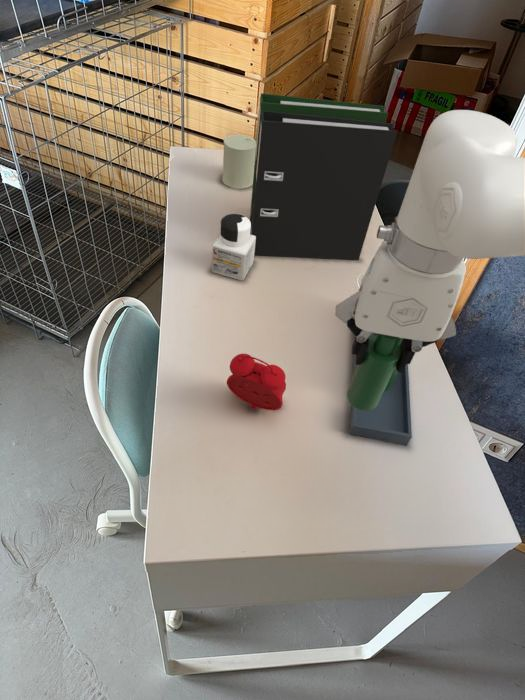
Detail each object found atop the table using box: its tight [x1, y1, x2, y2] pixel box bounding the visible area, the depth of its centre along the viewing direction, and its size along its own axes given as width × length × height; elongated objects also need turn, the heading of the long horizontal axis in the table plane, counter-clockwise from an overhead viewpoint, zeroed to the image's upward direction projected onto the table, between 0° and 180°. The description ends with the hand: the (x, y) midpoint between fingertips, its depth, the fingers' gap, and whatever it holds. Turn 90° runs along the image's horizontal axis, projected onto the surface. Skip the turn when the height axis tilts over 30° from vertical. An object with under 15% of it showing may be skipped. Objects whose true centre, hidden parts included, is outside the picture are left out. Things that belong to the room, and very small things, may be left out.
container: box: [211, 213, 256, 281], centre depth 108 cm, size 8×8×13 cm
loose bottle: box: [346, 334, 401, 411], centre depth 64 cm, size 5×5×14 cm
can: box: [221, 134, 257, 190], centre depth 136 cm, size 9×9×12 cm
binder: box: [249, 93, 398, 261], centre depth 111 cm, size 27×15×32 cm, turn 91°
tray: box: [349, 333, 413, 446], centre depth 95 cm, size 34×10×3 cm, turn 170°
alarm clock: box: [226, 353, 287, 411], centre depth 81 cm, size 10×6×15 cm, turn 67°
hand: (378, 359), depth 62 cm, fingers closed on loose bottle, 4 cm apart
